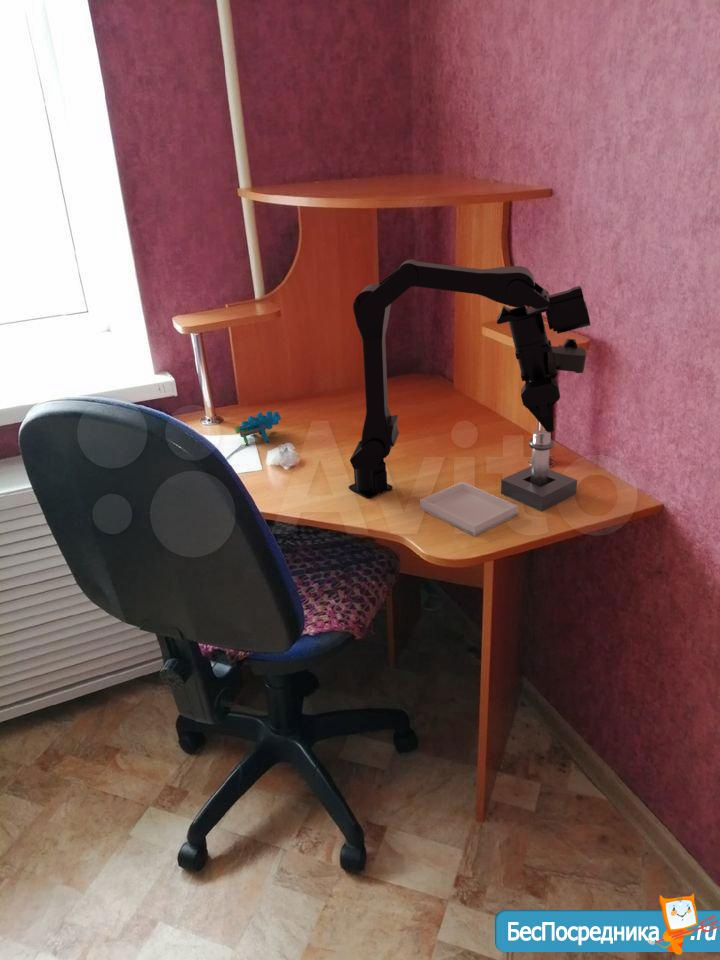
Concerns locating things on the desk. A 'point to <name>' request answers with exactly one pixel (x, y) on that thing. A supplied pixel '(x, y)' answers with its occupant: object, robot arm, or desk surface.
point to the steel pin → (540, 457)
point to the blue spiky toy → (258, 425)
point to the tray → (468, 508)
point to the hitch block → (538, 489)
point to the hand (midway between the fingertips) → (550, 421)
